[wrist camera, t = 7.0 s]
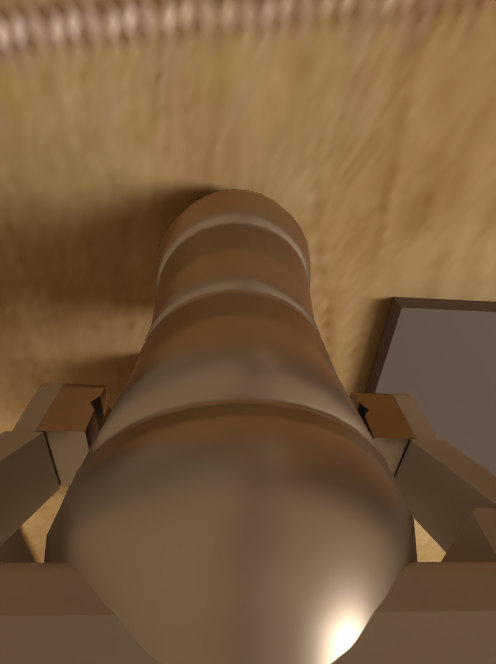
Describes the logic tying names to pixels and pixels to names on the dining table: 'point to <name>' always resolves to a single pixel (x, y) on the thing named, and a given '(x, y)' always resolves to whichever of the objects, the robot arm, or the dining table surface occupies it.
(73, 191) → the dining table surface
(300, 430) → the plastic bottle
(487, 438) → the charcoal board
